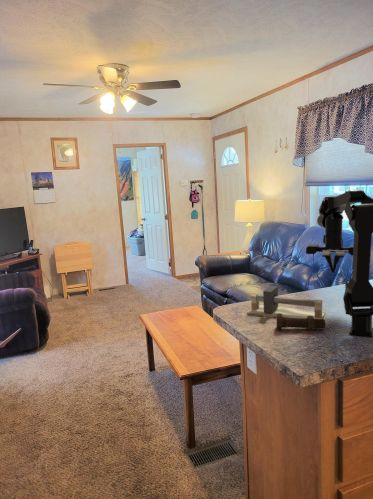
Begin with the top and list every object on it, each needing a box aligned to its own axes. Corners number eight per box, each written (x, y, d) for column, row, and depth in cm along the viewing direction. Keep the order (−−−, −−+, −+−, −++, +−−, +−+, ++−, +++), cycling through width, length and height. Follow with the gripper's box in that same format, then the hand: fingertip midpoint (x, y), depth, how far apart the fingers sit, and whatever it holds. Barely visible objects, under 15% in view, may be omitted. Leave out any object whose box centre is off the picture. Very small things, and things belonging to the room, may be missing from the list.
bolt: (324, 336, 121) (276, 333, 123) (322, 323, 125) (276, 321, 127) (327, 324, 117) (277, 322, 120) (325, 311, 121) (276, 310, 124)
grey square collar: (271, 313, 136) (271, 291, 134) (263, 312, 137) (263, 291, 136) (278, 306, 143) (277, 286, 141) (270, 305, 144) (270, 285, 143)
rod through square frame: (320, 322, 127) (320, 305, 126) (247, 313, 140) (246, 297, 139) (325, 313, 135) (325, 296, 134) (256, 305, 148) (255, 290, 147)
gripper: (363, 228, 140) (362, 269, 142) (310, 227, 148) (310, 266, 151) (361, 232, 130) (360, 276, 133) (305, 231, 139) (305, 273, 141)
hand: (333, 272), depth 140 cm, fingers closed
